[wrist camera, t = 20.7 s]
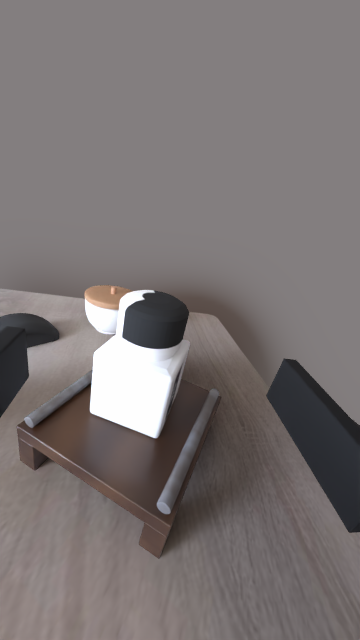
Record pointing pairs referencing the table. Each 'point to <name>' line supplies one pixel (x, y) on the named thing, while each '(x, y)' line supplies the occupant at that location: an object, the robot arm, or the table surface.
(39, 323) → the computer mouse
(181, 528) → the table surface
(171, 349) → the container
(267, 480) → the table surface
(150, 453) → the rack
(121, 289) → the trinket box
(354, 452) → the robot arm
